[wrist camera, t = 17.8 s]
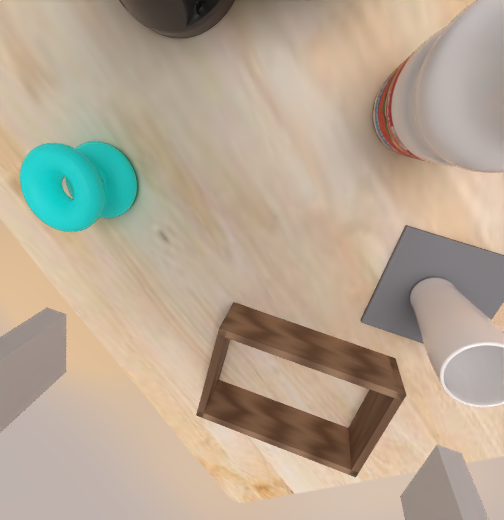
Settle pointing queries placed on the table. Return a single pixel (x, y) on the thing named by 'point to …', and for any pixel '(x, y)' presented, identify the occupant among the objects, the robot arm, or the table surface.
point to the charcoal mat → (433, 266)
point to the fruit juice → (450, 95)
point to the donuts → (77, 184)
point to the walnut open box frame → (293, 420)
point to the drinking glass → (460, 343)
